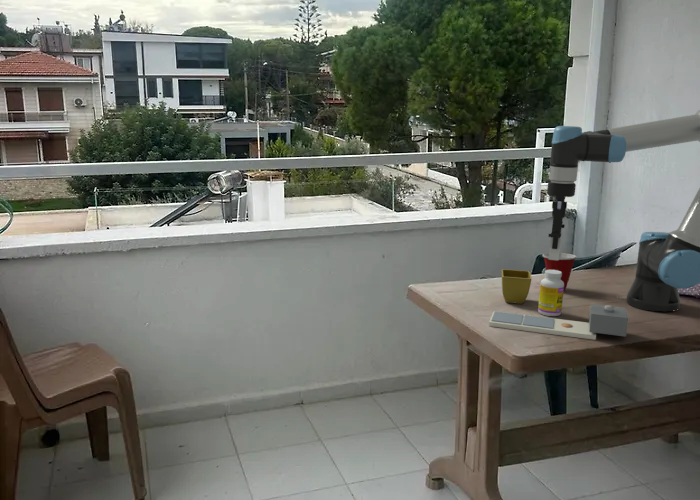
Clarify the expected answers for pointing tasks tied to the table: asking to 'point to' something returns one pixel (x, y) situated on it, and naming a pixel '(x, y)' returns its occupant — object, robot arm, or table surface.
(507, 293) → the flower pot
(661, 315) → the table surface
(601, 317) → the cover
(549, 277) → the supplement bottle
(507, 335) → the table surface
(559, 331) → the board
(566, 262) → the plastic cup
